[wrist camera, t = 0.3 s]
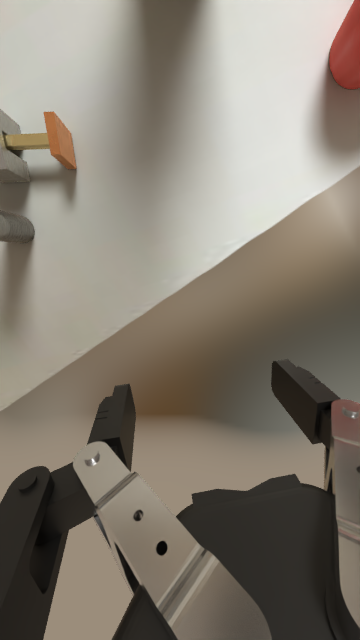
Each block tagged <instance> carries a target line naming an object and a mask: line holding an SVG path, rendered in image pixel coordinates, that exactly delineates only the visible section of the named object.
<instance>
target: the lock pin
mask: <svg viewBox="0 0 360 640" xmlns="http://www.w3.org/2000/svg"><path fill="white" fill-rule="evenodd" d="M44 117H45V123H46V129H47V133H39V134H13V135H3V138H4V143H5V147H6V149H7V150H29V149H50V151H51V155H52V156H53V157H55V158H56V159H57V160H58V161H59V162H60V163H61V164H63V165H64V166H65V167H66V168H67V169H76V163H75V156H74V150H73V143H72V137H71V133H70V131H69V130H68V129H67V128H66V126H65V125H64V124H63V123H62V121H61V120H60V119H59V118H58V116H57V115H56V114H55V113H54V112H44Z"/></svg>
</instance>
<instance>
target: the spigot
mask: <svg viewBox="0 0 360 640" xmlns="http://www.w3.org/2000/svg"><path fill="white" fill-rule="evenodd" d="M34 233H35V231H34V227H33V224H32V223H31V222H30V220H28V219H27V218H26V217H23V216H20V215H16V214H12V213H9V212H5V211H1V210H0V241H4V242H15V243H28V242H30V241H31V240H32V239H33V237H34Z"/></svg>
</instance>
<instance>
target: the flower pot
mask: <svg viewBox="0 0 360 640" xmlns="http://www.w3.org/2000/svg"><path fill="white" fill-rule="evenodd" d="M329 64H330V70H331V72H332V74H333V78H334V79H335V81H336V82H337V83H338V84H339V85H340V86H342V87H343V88H346V89H358V88H360V0H354V2H353V4H352V6H351V8H350V9H349V11H348V13H347V15H346V17H345V19H344V21H343V23H342V25H341V27H340V29H339V31H338V32H337V34H336V36H335V38H334V41H333V43H332V46H331V50H330V57H329Z"/></svg>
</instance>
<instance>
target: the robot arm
mask: <svg viewBox="0 0 360 640" xmlns="http://www.w3.org/2000/svg"><path fill="white" fill-rule="evenodd" d="M271 385H272V386H271V387H272V391H273V393H274V395H275V397H276V398H277V399H278V400H279V402H280V403H281V404H282V405H283V407H284V408H285V409H286V411H287V412H288V413H289V415H290V416H291V417H292V418H293V420H294V421H295V422H296V424H297V425H298V426H299V427H300V429H301V430H302V431H303V433H304V434H305V435H306V436H307V437H308V439H309V440H310V442H311V443H312V444H317V443H323V444H324V445H325V451H324V489H321V488H319V487H316V486H313V485H309V484H303V483H300V481H299V480H298V478H297V476H296V475H295V474H292V475H287V476H281V477H276V478H271V479H269V480H267V481H265V482H263V483H261V484H260V485H258V486H256V487H254V488H252V489H250V490H248V491H237V490H224V489H215V490H210V491H205V492H199V493H194V494H192V499H193V504H191V505H190V506H188V507H186V508H185V509H184V510H182V511H181V512H180V513H179V514H178V515H177V516H176V517H175V516H174V514H173V513H172V512H171V511H170V510H169V509H168V507H167V506H166V505H165V504H164V503H163V502H162V501H161V499H160V498H159V497H158V496H157V495H156V494H155V492H154V491H153V490H152V489H151V488H150V486H149V485H148V484H147V483H146V482H145V481H144V480H143V478H142V477H141V476H140V475H139V474H138V473H137V472H134V473H133V474H132V473H131V464H132V453H133V442H134V431H135V420H136V412H135V406H134V402H133V397H132V392H131V387H130V384H124V385H118V386H115V388H114V392H113V396H110V397H106V398H105V399H104V400H103V401H102V402H101V404H100V405H99V408H98V412H97V415H96V418H95V421H94V424H93V427H92V430H91V434H90V437H89V440H88V443H87V445H86V446H85V447H83V448H82V449H81V450H80V451H79V452H78V453H77V455H76V456H75V458H74V461H73V462H72V463H70V464H68V465H66V466H64V467H62V468H60V469H57V470H55V471H53V472H51V473H50V471H49V469H48V468H46V467H44V466H39V467H34V468H31V469H29V470H27V471H25V472H24V473H22V474H21V475H20V476H18V477H17V478H16V479H15V480H14V481H13V482H12V484H11V485H10V486H9V488H8V490H7V492H6V494H5V496H4V498H3V499H2V501H1V503H0V640H43V638H44V633H45V629H46V625H47V621H48V616H49V612H50V608H51V604H52V599H53V595H54V591H55V586H56V582H57V578H58V574H59V569H60V565H61V561H62V557H63V552H64V549H65V544H66V540H67V535H68V531H69V529H71V528H73V527H75V526H76V525H78V524H80V523H82V522H84V521H86V520H87V519H89V518H91V517H93V518H94V521H95V522H96V525H97V526H98V528H99V530H100V532H101V534H102V536H103V538H104V539H105V541H106V543H107V545H108V547H109V549H110V551H111V553H112V554H113V557H114V559H115V560H116V563H117V565H118V567H119V570H120V571H121V574H122V576H123V578H124V580H125V582H126V584H127V585H128V588H129V589H130V591H131V593H132V595H133V598H132V600H131V602H130V604H129V606H128V608H127V610H126V612H125V614H124V616H123V618H122V620H121V622H120V624H119V626H118V628H117V630H116V632H115V634H114V636H113V638H112V640H360V404H359V403H357V402H354V401H351V400H345V399H340V398H339V397H338V396H337V395H336V394H335V393H333V392H332V391H331V390H330V389H329V388H328V387H326V386H325V385H324V384H323V383H321V382H320V381H319V380H318V379H317V378H315V376H314V375H312V374H311V373H310V372H309V371H307V370H305V369H303V368H301V367H296V366H295V365H294V364H292V363H291V362H290V361H289V360H288V359H285V360H278V361H273V363H272V380H271Z"/></svg>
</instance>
